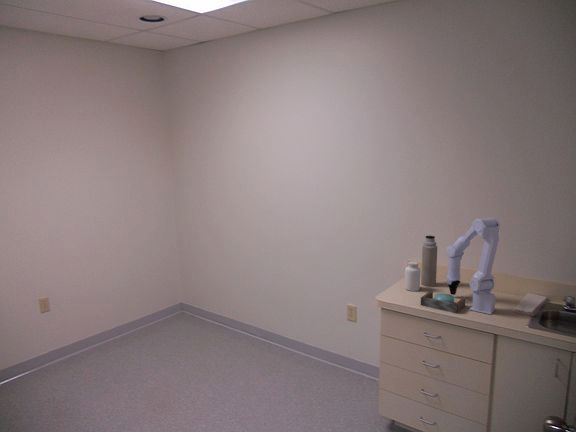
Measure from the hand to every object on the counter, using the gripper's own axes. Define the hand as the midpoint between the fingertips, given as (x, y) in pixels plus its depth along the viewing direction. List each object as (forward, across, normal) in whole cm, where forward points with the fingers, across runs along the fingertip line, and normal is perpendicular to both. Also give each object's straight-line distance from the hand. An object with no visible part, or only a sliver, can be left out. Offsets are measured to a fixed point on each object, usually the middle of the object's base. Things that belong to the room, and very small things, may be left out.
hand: (452, 294), depth 218 cm
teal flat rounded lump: (+2, +12, 0) cm, 12 cm away
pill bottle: (+2, 0, -22) cm, 22 cm away
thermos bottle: (+2, -13, -18) cm, 22 cm away
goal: (+2, +14, 0) cm, 15 cm away
